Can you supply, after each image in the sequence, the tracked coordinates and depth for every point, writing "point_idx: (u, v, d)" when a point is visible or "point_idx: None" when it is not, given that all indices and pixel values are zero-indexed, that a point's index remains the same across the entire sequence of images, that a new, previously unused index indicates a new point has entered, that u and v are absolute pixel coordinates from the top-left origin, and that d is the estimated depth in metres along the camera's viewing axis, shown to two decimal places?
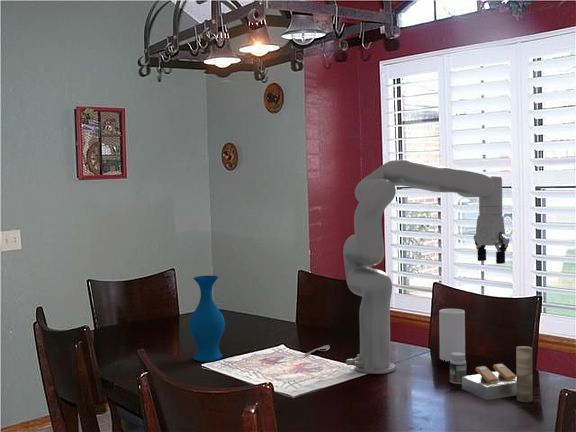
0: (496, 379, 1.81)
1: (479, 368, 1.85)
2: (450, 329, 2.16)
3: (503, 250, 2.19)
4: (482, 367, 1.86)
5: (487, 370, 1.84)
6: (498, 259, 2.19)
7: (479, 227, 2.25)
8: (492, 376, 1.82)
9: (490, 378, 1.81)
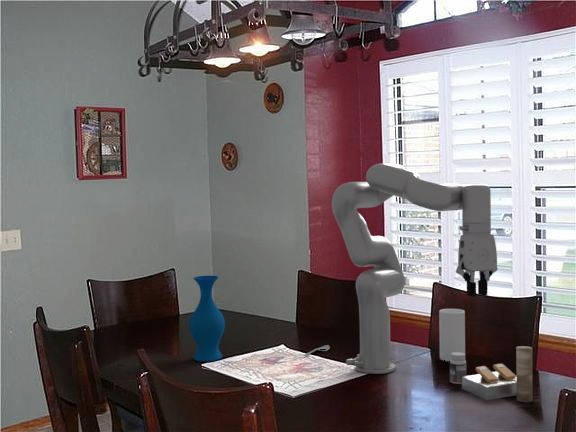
0: (496, 379, 1.81)
1: (479, 368, 1.85)
2: (450, 329, 2.16)
3: None
4: (482, 367, 1.86)
5: (487, 370, 1.84)
6: None
7: (476, 249, 1.79)
8: (492, 376, 1.82)
9: (490, 378, 1.81)
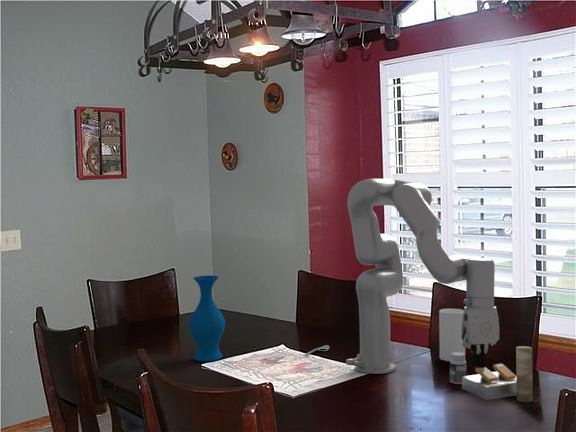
0: (496, 378, 1.81)
1: (479, 368, 1.85)
2: (450, 329, 2.16)
3: None
4: None
5: (487, 370, 1.84)
6: None
7: (479, 323, 1.82)
8: (492, 375, 1.82)
9: (490, 377, 1.81)
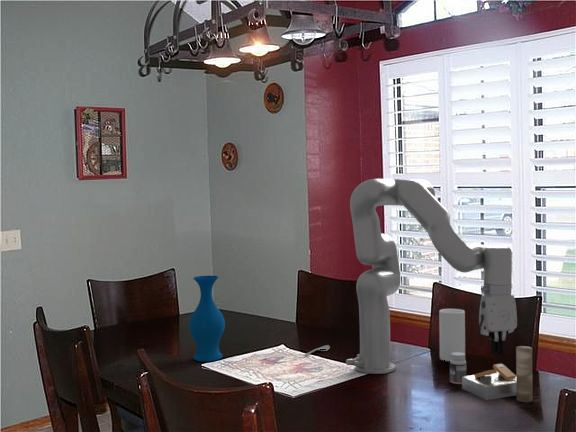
0: (494, 370, 1.82)
1: None
2: (450, 329, 2.16)
3: None
4: None
5: None
6: None
7: (497, 310, 1.84)
8: None
9: (488, 370, 1.81)
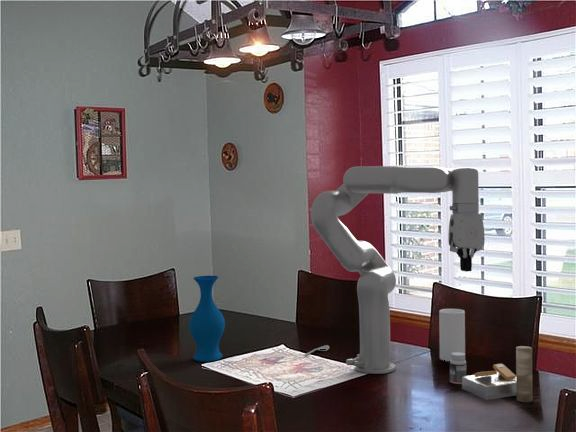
0: (495, 371, 1.82)
1: None
2: (450, 329, 2.16)
3: None
4: None
5: None
6: None
7: (465, 227, 1.93)
8: None
9: (488, 371, 1.81)
